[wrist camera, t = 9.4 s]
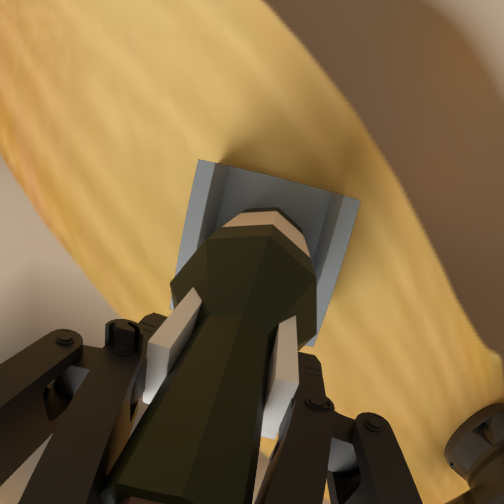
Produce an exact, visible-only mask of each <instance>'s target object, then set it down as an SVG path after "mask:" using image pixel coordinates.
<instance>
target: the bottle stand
mask: <svg viewBox="0 0 504 504" xmlns="http://www.w3.org/2000/svg"><path fill="white" fill-rule="evenodd" d="M359 204H360V200H357V199H354V198H351V197H347V196H344V195H340V194H337V193H333V192H330V191H326V190H323V189H319V188H316V187H312V186H308V185H305V184H301V183H297V182H293V181H290V180H286V179H282V178H278V177H274V176H270V175H266V174H262V173H258V172H253V171H249V170H245V169H241V168H236V167H232V166H228V165H223V164H219V163H214V162H209V161H205V160H200V159H198V164H197V168H196V173H195V177H194V181H193V186H192V191H191V195H190V200H189V205H188V209H187V214H186V219H185V224H184V229H183V235H182V240H181V245H180V250H179V256H178V261H177V267H176V273H175V276H176V275H177V274H178V272H179V271H180V270H181V269H182V267H183V266H184V265H185V264H186V263H187V261H188V260H189V259H190V258H191V256H192V255H193V254H194V253H195V252H196V250H197V249H198V248H199V247H200V246H201V244H202V243H203V242H204V241H205V239H207V238H208V237H209V236H211V235H212V234H213V233H215V232H216V231H217V230H219V229H220V228H221V227H222V226H224V225H225V224H226V223H228V222H229V221H230V220H232V219H233V218H234V217H236V216H237V215H238V214H240V213H241V212H242V211H244V210H245V209H253V208H269V207H278V208H279V209H280V210H282V211H283V212H284V213H285V214H286V215H287V216H288V217H289V218H291V219H292V220H293V221H294V222H295V223H296V224H297V225H298V226H299V227H301V229H302V232H303V235H304V238H305V241H306V245H307V248H308V251H309V254H310V258H311V261H312V264H313V268H314V271H315V274H316V278H317V334H316V335H315V336H314V337H313V338H312V339H311V340H310V341H309V342H308V343H307V344H306V345H307V346H311V347H314V344H315V341H316V339H317V336H318V333H319V330H320V328H321V325H322V322H323V319H324V316H325V314H326V311H327V308H328V305H329V302H330V299H331V296H332V293H333V290H334V287H335V284H336V281H337V278H338V275H339V272H340V269H341V266H342V262H343V259H344V256H345V253H346V249H347V246H348V243H349V239H350V236H351V233H352V229H353V226H354V222H355V219H356V215H357V211H358V208H359ZM170 309H172V310H174V306H173V300H172V297H171V303H170Z"/></svg>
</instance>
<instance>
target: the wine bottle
mask: <svg viewBox="0 0 504 504" xmlns="http://www.w3.org/2000/svg"><path fill="white" fill-rule="evenodd" d="M170 287H171V294H172V300H173V306H174V309H175V308H176V307H177V306H178V305H179V303H180V302H181V301H182V300H183V299H184V297H185V296H186V295H187V294H188V293H189V291H190V290H191V289H192V288H194V289H195V291H196V292H197V294H198V295H199V297H200V299H201V300H202V303H201V306H200V309H199V312H198V316H197V319H196V322H195V325H194V328H193V331H192V334H191V336H190V338H189V339H188V341H187V343H186V344H185V346H184V348H183V349H182V351H181V353H180V354H179V356H178V358H177V359H176V361H175V363H174V364H173V366H172V368H171V369H170V371H169V373H168V375H167V376H166V377H165V379H164V381H163V382H162V384H161V386H160V387H159V389H158V391H157V392H156V394H155V396H154V397H153V399H152V401H151V403H150V404H149V406H148V408H147V409H146V411H145V413H144V414H143V416H142V418H141V420H140V421H139V423H138V424H137V426H136V428H135V430H134V431H133V433H132V435H131V437H130V438H129V440H128V441H127V443H126V445H125V447H124V448H123V450H122V452H121V453H120V455H119V457H118V458H117V460H116V462H115V464H114V465H113V467H112V469H111V470H110V472H109V474H108V476H107V477H106V479H105V482H104V484H103V486H102V488H101V491H100V493H99V495H100V499H101V503H102V504H252V499H253V492H254V485H255V477H256V470H257V462H258V455H259V447H260V439H261V431H262V423H263V415H264V404H265V395H266V386H267V377H268V368H269V360H270V356H271V353H272V349H273V345H274V341H275V337H276V334H277V330H278V326H279V323H281V322H283V321H285V320H287V319H289V318H291V317H293V316H295V315H296V328H297V348H298V351H299V350H300V349H301V348H302V347H303V346H304V345H306V344H307V343H308V342H309V341H310V340H311V339H312V338H313V337H314V336H315V335H316V334H317V278H316V274H315V271H314V268H313V264H312V261H311V258H310V254H309V251H308V248H307V245H306V241H305V238H304V235H303V232H302V229H301V227H299V226H298V225H297V224H296V223H295V222H294V221H293V220H292V219H291V218H289V217H288V216H287V215H286V214H285V213H284V212H283V211H282V210H280V209H279V208H278V207H269V208H253V209H245V210H244V211H242V212H241V213H240V214H238V215H237V216H236V217H234V218H233V219H232V220H230V221H229V222H228V223H226V224H225V225H224V226H222V227H221V228H220V229H219V230H217V231H216V232H215V233H213V234H212V235H211V236H209V237H208V238H207V239H205V241H204V242H203V243H202V244H201V246H200V247H199V248H198V249H197V250H196V252H195V253H194V254H193V255H192V256H191V258H190V259H189V260H188V261H187V263H186V264H185V265H184V266H183V267H182V269H181V270H180V271H179V272H178V274H177V275H176V276H175V277H174V279H173V280H172V281H171V282H170Z"/></svg>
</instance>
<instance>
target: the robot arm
mask: <svg viewBox="0 0 504 504" xmlns="http://www.w3.org/2000/svg"><path fill="white" fill-rule="evenodd" d="M201 303H202V300H201V299H200V297H199V295H198V294H197V292H196V291H195V289H194V288H192V289H191V290H190V291H189V293H188V294H187V295H186V296H185V297H184V299H183V300H182V301H181V302H180V303H179V305H178V306H177V307H176V308H175V309H174V311H173V312H172V313H171V314H170V315H169V317H166V316H163V315H160V314H156V313H152V314H149V315H147V316H145V317H144V318H143V319H142V320H141V321H140V323H136V322H133V321H131V320H126V319H115V320H111V321H109V322H108V323H106V327H105V346H104V347H103V348H97V347H91V346H86V345H83V339H82V337H81V335H80V334H78V333H77V332H75V331H72V330H68V329H59V330H55V331H52V332H50V333H49V334H47V335H45V336H44V337H43V338H41V339H39V340H38V341H36V342H34V343H33V344H31V345H30V346H28V347H26V348H25V349H24V350H22V351H20V352H19V353H17V354H16V355H14V356H13V357H11V358H9V359H8V360H6V361H5V362H3V363H2V364H0V486H1V485H2V484H3V483H4V482H5V481H6V480H7V479H8V478H9V477H10V476H11V475H12V474H13V473H14V472H15V471H16V470H17V469H18V468H19V467H20V466H21V465H22V464H23V463H24V462H25V461H26V460H27V459H28V457H29V456H30V455H32V454H33V453H34V452H35V451H36V450H37V449H38V448H39V447H40V445H42V444H43V443H44V441H45V440H46V439H47V438H48V437H49V436H50V435H51V434H52V433H53V432H54V433H53V435H52V437H51V439H50V441H49V442H48V444H47V446H46V448H45V450H44V452H43V454H42V456H41V458H40V460H39V462H38V464H37V466H36V468H35V470H34V472H33V474H32V476H31V478H30V480H29V482H28V484H27V486H26V488H25V491H24V492H23V495H22V497H21V499H20V501H19V503H18V504H102V503H101V499H100V495H99V493H100V491H101V488H102V486H103V484H104V482H105V479H106V477H107V476H108V474H109V472H110V470H111V469H112V467H113V465H114V464H115V462H116V460H117V458H118V457H119V455H120V453H121V452H122V450H123V448H124V447H125V445H126V443H127V441H128V440H129V436H130V433H131V430H132V427H133V423H134V420H135V417H136V414H137V411H138V401H139V398H140V397H141V395H142V394H143V402H144V403H147V404H150V403H151V401H152V399H153V397H154V396H155V394H156V392H157V391H158V389H159V387H160V386H161V384H162V382H163V381H164V379H165V377H166V376H167V375H168V373H169V371H170V369H171V368H172V366H173V364H174V363H175V361H176V359H177V358H178V356H179V354H180V353H181V351H182V349H183V348H184V346H185V344H186V343H187V341H188V339H189V338H190V336H191V334H192V331H193V328H194V325H195V322H196V319H197V316H198V312H199V309H200V306H201ZM321 371H322V368H321V363H320V361H319V360H318V359H317V357H316V356H315V355H311V354H306V353H302V352H298V348H297V328H296V315H295V316H293V317H291V318H289V319H287V320H285V321H283V322H281V323H279V326H278V330H277V334H276V337H275V341H274V345H273V349H272V353H271V356H270V360H269V368H268V377H267V386H266V395H265V404H264V415H263V423H262V431H261V437H266V438H271V439H275V438H276V436H277V434H278V431H279V438H278V441H277V443H276V445H275V447H274V449H273V451H272V454H271V456H270V458H269V460H270V462H269V465H268V468H267V470H266V473H265V476H264V479H263V481H262V484H261V487H260V490H259V492H258V495H257V498H256V500H255V503H254V504H322V502H323V496H324V490H325V484H326V478H327V483H328V490H329V496H330V502H331V504H423V503H422V501H421V498H420V495H419V493H418V490H417V488H416V485H415V483H414V480H413V478H412V475H411V473H410V470H409V468H408V466H407V463H406V461H405V458H404V456H403V454H402V451H401V449H400V447H399V444H398V442H397V440H396V437H395V435H394V433H393V430H392V428H391V426H390V424H389V423H388V421H387V420H386V419H384V418H383V417H382V416H380V415H377V414H375V413H370V412H366V413H361V414H359V415H358V416H357V418H356V419H355V420H354V419H351V418H348V417H346V416H343V415H341V414H339V413H337V412H336V411H334V410H335V408H334V404H333V403H332V401H331V400H330V399H329V398H328V397H326V395H325V388H324V381H323V378H322V377H323V375H322V372H321ZM50 382H51V383H50ZM143 392H144V393H143ZM444 455H445V458H446V461H447V463H448V465H449V466H450V467H451V468H452V469H453V470H454V471H455V472H456V473H458V474H459V475H460V476H461V477H462V478H463V479H465V480H466V481H467V483H468V485H469V487H470V490H468V491H467V492H465V493H463V494H462V495H460V496H458V497H456V498H454V499H453V500H451V501H449V502H447V503H445V504H504V404H495V405H492V406H489V407H487V408H485V409H483V410H481V411H480V412H478V413H476V414H475V415H473V416H472V417H471V418H469V419H468V420H467V421H466V422H465V423H464V424H462V425H461V426H460V427H459V428H458V429H457V431H456V432H455V433H454V434H453V435H452V437H451V438H450V440H449V441H448V443H447V445H446V448H445V452H444Z"/></svg>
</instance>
